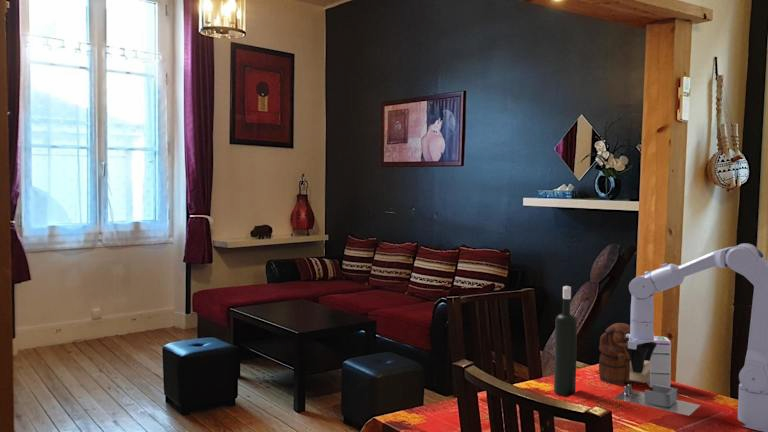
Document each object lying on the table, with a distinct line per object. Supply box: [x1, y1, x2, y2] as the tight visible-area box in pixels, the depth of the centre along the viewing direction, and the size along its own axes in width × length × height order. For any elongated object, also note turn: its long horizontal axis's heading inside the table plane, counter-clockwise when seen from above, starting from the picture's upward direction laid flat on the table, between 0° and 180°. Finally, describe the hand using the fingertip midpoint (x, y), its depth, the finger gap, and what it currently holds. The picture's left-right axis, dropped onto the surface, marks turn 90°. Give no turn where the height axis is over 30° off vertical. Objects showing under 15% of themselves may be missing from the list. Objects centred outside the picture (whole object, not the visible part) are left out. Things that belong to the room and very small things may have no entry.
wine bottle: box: [553, 285, 578, 397], centre depth 177 cm, size 6×6×30 cm
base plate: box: [613, 384, 701, 417], centre depth 168 cm, size 19×10×4 cm, turn 49°
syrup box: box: [646, 335, 672, 388], centre depth 182 cm, size 6×6×14 cm
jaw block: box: [629, 360, 650, 384], centre depth 171 cm, size 4×4×5 cm
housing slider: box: [644, 384, 679, 407], centre depth 168 cm, size 6×7×3 cm
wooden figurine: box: [598, 322, 642, 386], centre depth 185 cm, size 12×6×18 cm, turn 98°
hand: (640, 370), depth 171 cm, fingers closed on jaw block, 4 cm apart
